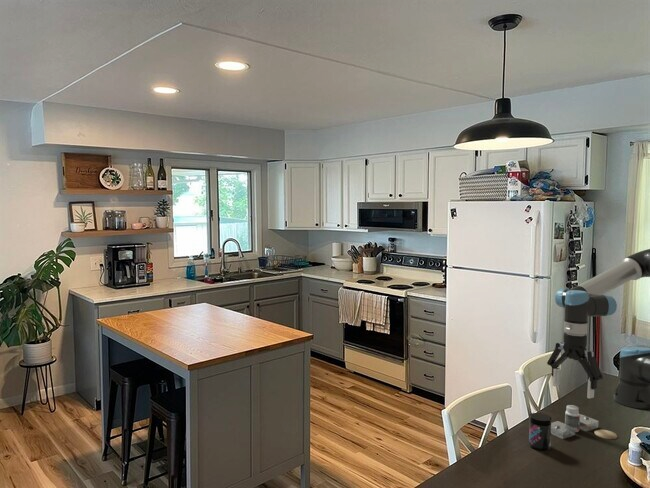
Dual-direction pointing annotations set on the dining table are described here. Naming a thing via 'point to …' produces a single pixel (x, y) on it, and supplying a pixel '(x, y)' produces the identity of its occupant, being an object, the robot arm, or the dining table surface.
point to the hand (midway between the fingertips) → (572, 391)
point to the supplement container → (540, 431)
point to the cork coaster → (605, 434)
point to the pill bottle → (572, 417)
